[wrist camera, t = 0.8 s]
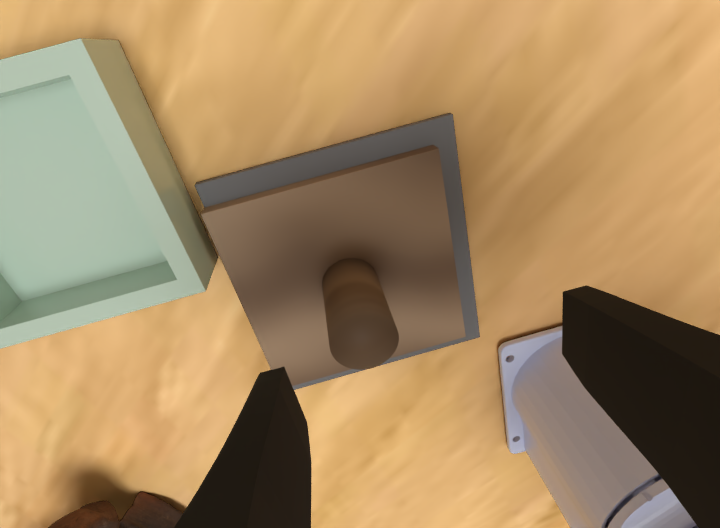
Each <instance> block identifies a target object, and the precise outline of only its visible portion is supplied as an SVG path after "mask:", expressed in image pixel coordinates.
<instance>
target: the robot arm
mask: <svg viewBox="0 0 720 528" xmlns="http://www.w3.org/2000/svg"><path fill="white" fill-rule="evenodd" d="M498 354H499V364H500V374H501V385H502V395H503V405H504V416H505V426H506V436H507V446H508V449H509V451H510V452H511V453H514V454H516V453H520V452H524V451H526V452H527V454H528V455H529V457H530V459H531V461H532V462H533V464H534V466H535V468H536V469H537V471H538V473H539V474H540V476H541V478H542V480H543V481H544V483H545V485H546V486H547V488H548V490H549V492H550V493H551V495H552V497H553V499H554V500H555V502H556V504H557V505H558V507H559V509H560V511H561V512H562V514H563V516H564V518H565V519H566V521H567V523H568V524H569V526H570V528H720V335H718V334H715V333H712V332H709V331H706V330H703V329H701V328H698V327H695V326H692V325H689V324H687V323H684V322H681V321H679V320H676V319H673V318H671V317H668V316H665V315H663V314H660V313H658V312H655V311H652V310H650V309H647V308H645V307H642V306H640V305H637V304H635V303H632V302H629V301H627V300H624V299H622V298H619V297H617V296H614V295H611V294H609V293H606V292H604V291H601V290H598V289H595V288H592V287H589V286H583V287H579V288H575V289H572V290H568V291H564V292H563V320H562V326H560V327H556V328H553V329H549V330H545V331H542V332H538V333H535V334H531V335H528V336H524V337H521V338H517V339H514V340H510V341H507V342H504V343H502V344H501V345H500V347H499V349H498ZM509 355H510V356H509ZM507 356H509V357H508V358H507ZM174 528H311V455H310V444H309V435H308V426H307V421H306V419H305V416H304V414H303V411H302V409H301V407H300V404H299V402H298V399H297V397H296V394H295V392H294V389H293V387H292V384H291V382H290V380H289V377H288V375H287V372H286V370H285V367H281V368H277V369H273V370H269V371H266V372H262V373H260V374H259V376H258V377H257V379H256V382H255V384H254V386H253V388H252V390H251V392H250V394H249V396H248V398H247V401H246V403H245V405H244V407H243V409H242V411H241V413H240V415H239V417H238V419H237V421H236V423H235V425H234V427H233V429H232V431H231V432H230V434H229V436H228V438H227V440H226V442H225V444H224V446H223V448H222V450H221V451H220V453H219V455H218V457H217V458H216V460H215V462H214V464H213V465H212V467H211V469H210V470H209V472H208V474H207V476H206V477H205V479H204V481H203V482H202V484H201V486H200V488H199V489H198V491H197V492H196V494H195V496H194V497H193V499H192V500H191V502H190V504H189V505H188V507H187V508H186V510H185V511H184V513H183V514H182V516H181V517H180V519H179V520H178V522H177V523H176V525H175V526H174Z"/></svg>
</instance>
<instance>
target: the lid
mask: <svg viewBox="0 0 720 528" xmlns="http://www.w3.org/2000/svg"><path fill="white" fill-rule="evenodd" d="M201 216H202V218H203V220H204V222H205V225H206V227H207V229H208V231H209V233H210V236H211V238H212V240H213V242H214V244H215V247H216V249H217V251H218V253H219V255H220V258H221V260H222V262H223V264H224V266H225V269H226V271H227V273H228V275H229V278H230V280H231V282H232V284H233V286H234V289H235V291H236V293H237V295H238V297H239V300H240V302H241V304H242V306H243V308H244V311H245V313H246V315H247V317H248V319H249V322H250V324H251V326H252V328H253V330H254V333H255V335H256V337H257V339H258V341H259V344H260V346H261V348H262V350H263V352H264V355H265V357H266V359H267V361H268V363H269V366H270V368H271V370H273V369H277V368H281V367H285V370H286V372H287V375H288V377H289V380H290V382H291V384H292V386H294V385H298V384H302V383H305V382H309V381H312V380H316V379H319V378H323V377H326V376H330V375H333V374H337V373H340V372H344V371H347V370H351V369H358V370H364V369H370V368H373V367H376V366H379V365H381V364H382V363H384V362H385V361H387V360H388V359H390V358H393V357H397V356H400V355H404V354H407V353H411V352H414V351H418V350H421V349H425V348H428V347H432V346H435V345H439V344H442V343H446V342H449V341H453V340H456V339H460V338H463V337H466V335H465V328H464V321H463V314H462V307H461V300H460V293H459V286H458V279H457V272H456V265H455V258H454V251H453V244H452V237H451V230H450V223H449V216H448V209H447V202H446V195H445V188H444V181H443V174H442V167H441V160H440V153H439V148H437V147H436V146H434V145H430V146H426V147H422V148H419V149H415V150H411V151H408V152H404V153H401V154H397V155H393V156H390V157H386V158H382V159H379V160H375V161H372V162H368V163H364V164H361V165H357V166H353V167H350V168H346V169H343V170H339V171H335V172H332V173H328V174H324V175H321V176H317V177H314V178H310V179H306V180H303V181H299V182H296V183H292V184H288V185H285V186H281V187H277V188H274V189H270V190H267V191H263V192H259V193H256V194H252V195H248V196H245V197H241V198H238V199H234V200H230V201H227V202H223V203H219V204H216V205H212V206H209V207H205V208H204V209H203V211H202V213H201Z"/></svg>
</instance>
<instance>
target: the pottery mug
mask: <svg viewBox="0 0 720 528" xmlns="http://www.w3.org/2000/svg"><path fill="white" fill-rule="evenodd" d="M181 516H182V513H181V511H179V510H176V509H175V508H174V507H173V506H171V505H169V504H167V503H166V502H164V501H162V500H160V499H158V498H156V497H154V496H152V495H149V494H147V493H145V492H140V493H139V494H138V495H137V496H136V498H135V500H134V502H133V504H132V506H131V508H130V509H128V510H127V512H126V514H125V515H124V517H123V518H122V520H121V521H120V522H119V520H118V516H117V513H116V510H115V508H114V507H113V506H112V505H111V504H110V502H108V501H99V502H94V503H91V504H87V505H85V506H82V507H81V508H80V509H79V510H76V511H74V512H72V513H70V514H68V515H66V516H64V517H63V518H61V519H59V520H58V521H56V522H55V523H53V524H52V525H51V526H50V527H48V528H174V526H175V525H176V523H177V522H178V520H179V519H180V517H181Z"/></svg>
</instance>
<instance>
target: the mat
mask: <svg viewBox="0 0 720 528" xmlns="http://www.w3.org/2000/svg"><path fill="white" fill-rule="evenodd" d="M430 145H434V146H436V147H437V148H439V153H440V160H441V167H442V174H443V181H444V188H445V195H446V202H447V209H448V216H449V223H450V230H451V237H452V244H453V251H454V258H455V265H456V272H457V279H458V286H459V293H460V300H461V307H462V314H463V321H464V328H465V335H466V337H463V338H460V339H456V340H453V341H449V342H446V343H442V344H439V345H435V346H432V347H428V348H425V349H421V350H418V351H414V352H411V353H407V354H404V355H400V356H397V357H393V358H390V359H388V360H387V361H385V362H384V363H382V364H381V365H383V364H387V363H390V362H394V361H397V360H401V359H404V358H408V357H411V356H415V355H418V354H422V353H425V352H429V351H432V350H436V349H439V348H443V347H447V346H450V345H454V344H457V343H461V342H464V341H468V340H471V339H475V338H478V337H480V333H479V325H478V317H477V309H476V301H475V292H474V284H473V276H472V268H471V260H470V252H469V243H468V235H467V227H466V219H465V211H464V203H463V194H462V186H461V178H460V170H459V162H458V154H457V145H456V137H455V129H454V121H453V114H451V113H448V114H444V115H440V116H437V117H433V118H429V119H426V120H422V121H418V122H415V123H411V124H408V125H404V126H400V127H397V128H393V129H389V130H386V131H382V132H378V133H375V134H371V135H368V136H364V137H360V138H357V139H353V140H349V141H346V142H342V143H338V144H335V145H331V146H328V147H324V148H320V149H317V150H313V151H309V152H306V153H302V154H298V155H295V156H291V157H288V158H284V159H280V160H277V161H273V162H269V163H266V164H262V165H258V166H255V167H251V168H248V169H244V170H240V171H237V172H233V173H229V174H226V175H222V176H218V177H215V178H211V179H208V180H204V181H200V182H197V183H196V184H195V187H196V190H197V192H198V194H199V196H200V199H201V201H202V203H203V205H204V208H205V207H209V206H212V205H216V204H219V203H223V202H227V201H230V200H234V199H238V198H241V197H245V196H248V195H252V194H256V193H259V192H263V191H267V190H270V189H274V188H277V187H281V186H285V185H288V184H292V183H296V182H299V181H303V180H306V179H310V178H314V177H317V176H321V175H324V174H328V173H332V172H335V171H339V170H343V169H346V168H350V167H353V166H357V165H361V164H364V163H368V162H372V161H375V160H379V159H382V158H386V157H390V156H393V155H397V154H401V153H404V152H408V151H411V150H415V149H419V148H422V147H426V146H430ZM379 366H380V365H379ZM364 370H366V369H364ZM359 371H362V370H358V369H351V370H347V371H344V372H340V373H337V374H333V375H330V376H326V377H323V378H319V379H316V380H312V381H309V382H305V383H302V384H298V385H294V386H292V387H293V389H294V390H295V389H299V388H302V387H306V386H309V385H313V384H316V383H320V382H323V381H327V380H330V379H334V378H337V377H341V376H344V375H348V374H352V373H355V372H359Z"/></svg>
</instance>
